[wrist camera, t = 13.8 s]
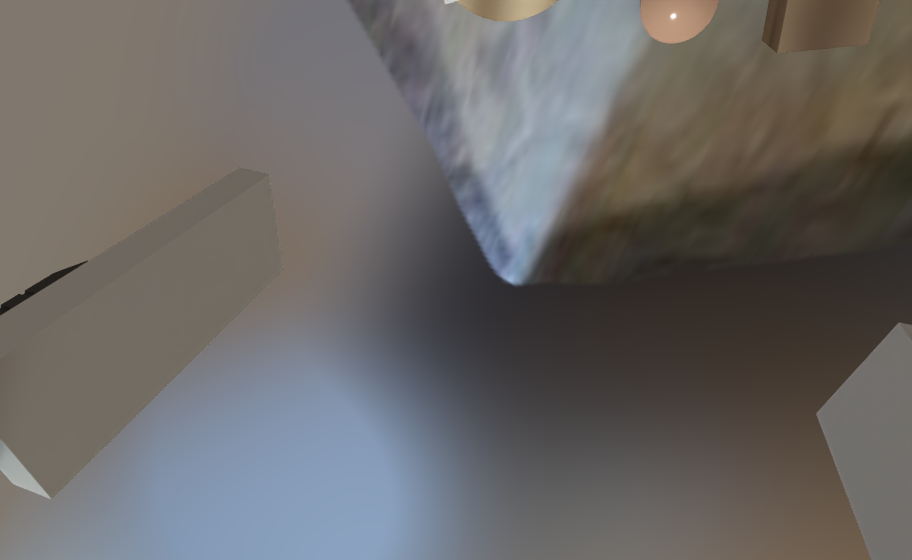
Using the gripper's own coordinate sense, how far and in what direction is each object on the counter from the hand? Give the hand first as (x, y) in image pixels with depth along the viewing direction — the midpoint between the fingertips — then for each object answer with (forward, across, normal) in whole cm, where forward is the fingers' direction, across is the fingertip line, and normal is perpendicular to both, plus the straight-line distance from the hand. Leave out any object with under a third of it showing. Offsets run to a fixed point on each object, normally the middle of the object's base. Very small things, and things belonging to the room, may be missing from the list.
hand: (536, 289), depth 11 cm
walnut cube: (+32, -12, -4) cm, 34 cm away
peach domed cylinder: (+32, -4, -3) cm, 32 cm away
